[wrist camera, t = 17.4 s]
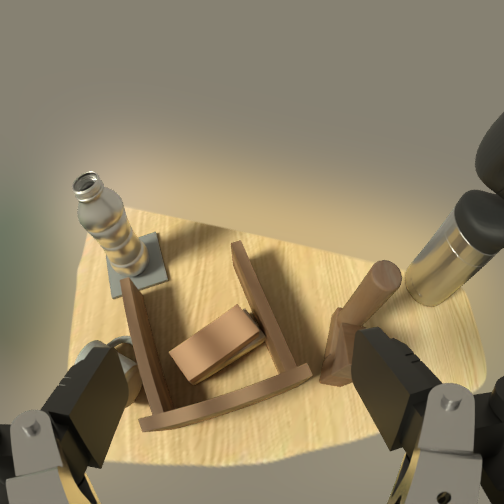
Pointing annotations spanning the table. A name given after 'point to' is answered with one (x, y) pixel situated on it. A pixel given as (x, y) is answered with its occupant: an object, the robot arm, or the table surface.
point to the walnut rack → (176, 418)
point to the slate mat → (150, 275)
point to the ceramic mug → (127, 364)
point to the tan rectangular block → (217, 345)
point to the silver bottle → (109, 225)
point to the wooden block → (356, 320)
